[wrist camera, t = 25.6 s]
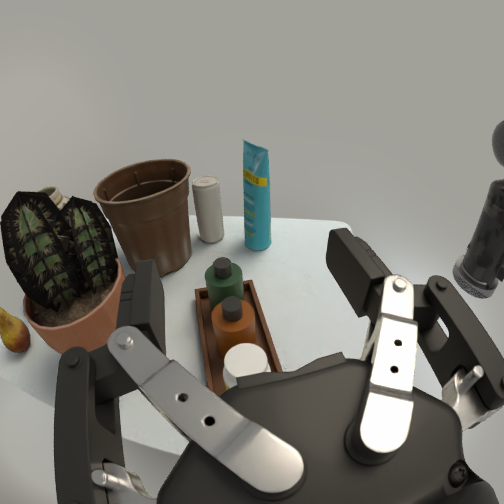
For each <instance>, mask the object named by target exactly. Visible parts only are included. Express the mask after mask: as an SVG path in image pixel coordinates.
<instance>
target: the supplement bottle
mask: <svg viewBox="0 0 504 504" xmlns="http://www.w3.org/2000/svg"><path fill="white" fill-rule="evenodd" d="M261 372H271V370H270V366H269V364H268V362H267V356H266V353H265V352H264V351H263V349H261V348H260V347H259V346H257V345H254V344H250V343H243V344H238V345H236V346H234V347H232V348H231V349H230V350H229V351H228V352H227V354H226V355H225V358H224V369H223V378H224V382H225V386H226V390H228V389H229V388H231V387H233V386H235V385H237V381H236V377H241V376H246V375H251V374H256V373H261Z"/></svg>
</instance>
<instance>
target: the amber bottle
mask: <svg viewBox="0 0 504 504" xmlns="http://www.w3.org/2000/svg"><path fill="white" fill-rule="evenodd" d="M211 318H212V323H213V328H214V332H215V337H216V341H217V346H218V350H219V354H220V356H221V357H222V358H223V359H224V358H225V355H226V354H227V352H228V351H229V350H230V349H231V348H232V347H234V346H236V345H238V344H243V343H250V344H254V345H256V336H255V313H254V310H253V308H252V306H251V305H250V304H249V303H247V302H245V301H243V300H240V299H239V298H237V297H234V296H230V297H227V298H225V299H224V300H223V301H222V302H221V303H219V304H218V305H217V306H216V307H215V308H214V309H213V311H212V315H211Z"/></svg>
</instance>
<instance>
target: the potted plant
mask: <svg viewBox="0 0 504 504" xmlns="http://www.w3.org/2000/svg"><path fill="white" fill-rule="evenodd" d="M1 219H2V221H1V222H0V225H1V232H2V240H3V247H4V253H5V259H6V263H7V264H8V266H9V268H10V270H11V272H12V273H13V275H14V276H15V278H16V280H17V282H18V283H19V285H20V286H21V288H22V289H23V291H24V293H25V297H24V299H23V312H24V314H25V316H26V318H27V320H28V322H29V323H30V324H31V326H32V327H33V328H34V329H35V330H36V332H37V333H38V334H39V335H40V336H41V337H42V339H43V340H44V341H45V342H46V343H47V344H48V345H49V346H50V347H51V348H53V349H54V350H56V351H57V352H59V353H64V352H65V351H67V350H68V349H70V348H72V347H77V346H78V347H83V348H84V349H86V350H87V352H90V351H92V350H95V349H97V348H99V347H102V346H104V345H105V344H106V343H108V339H109V337H110V335H111V334H112V333H113V332H114V331H115V330H116V322H117V314H118V307H119V302H120V295H121V287H122V283H123V281H124V280H125V275H124V272H123V269H122V266H121V263H120V262H119V260H118V255H117V251H116V247H115V243H114V239H113V234H112V230H111V226H110V225H109V223H108V221H107V220H106V218H105V217H104V215H103V214H102V212H101V211H100V209H99V208H98V206H97V204H96V203H92V201H88V200H84V199H80V198H76V197H73V196H72V197H71V198H70V200H69V201H68V202H67V203H66V204H65V206H64V207H63V208H62V209H61V210H60V209H59V208H58V207H57V206H56V205H55V203H54V202H53V201H52V200H51V198H50V197H49V196H48V195H47V193H46V192H21V191H18V193H16V194H15V196H14V197H13V199H12V200H11V202H10V203H9V205H8V206H7V208H6V209H5V211H4V213H3V214H2V216H1Z"/></svg>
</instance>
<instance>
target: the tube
mask: <svg viewBox="0 0 504 504" xmlns="http://www.w3.org/2000/svg"><path fill="white" fill-rule="evenodd" d="M243 141H244V153H243V173H244V174H243V176H244V177H243V183H244V230H245V245H246V246H247V247H248V248H249V249H252V250H257V251H259V250H264V249H266V248H268V247H269V246H270V244H271V218H270V181H269V160H268V149H266V148H263V147H260V146H257V145H254V144H251V143H250V142H247V141H246V140H244V139H243Z"/></svg>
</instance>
